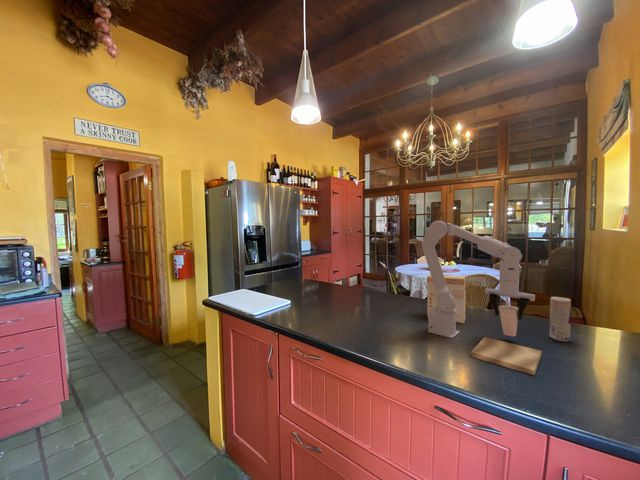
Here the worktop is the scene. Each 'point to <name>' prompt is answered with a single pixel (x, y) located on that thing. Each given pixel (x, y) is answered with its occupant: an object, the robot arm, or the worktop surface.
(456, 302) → the coffeecake box
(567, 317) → the beverage can
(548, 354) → the worktop surface
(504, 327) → the smoothie
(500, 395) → the worktop surface
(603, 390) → the worktop surface
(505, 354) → the base board
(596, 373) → the worktop surface
